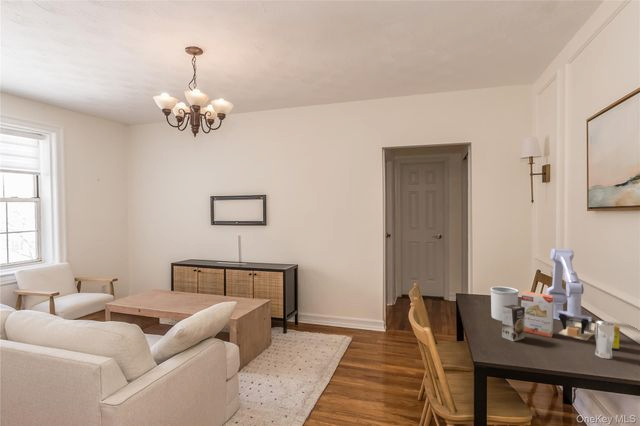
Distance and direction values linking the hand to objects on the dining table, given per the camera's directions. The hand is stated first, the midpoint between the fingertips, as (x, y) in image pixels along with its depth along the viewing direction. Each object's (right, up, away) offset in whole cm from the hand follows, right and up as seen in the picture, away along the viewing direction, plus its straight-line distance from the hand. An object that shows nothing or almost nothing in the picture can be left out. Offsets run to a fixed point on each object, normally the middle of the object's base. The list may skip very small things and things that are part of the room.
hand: (573, 331), depth 176 cm
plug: (+2, -2, +2) cm, 3 cm away
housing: (+9, -1, +7) cm, 12 cm away
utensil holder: (-23, -1, +26) cm, 34 cm away
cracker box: (-18, -2, +2) cm, 18 cm away
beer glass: (-5, -3, -25) cm, 25 cm away
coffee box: (-34, -2, -5) cm, 35 cm away
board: (+10, -2, +7) cm, 12 cm away
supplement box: (+5, -3, -15) cm, 16 cm away
